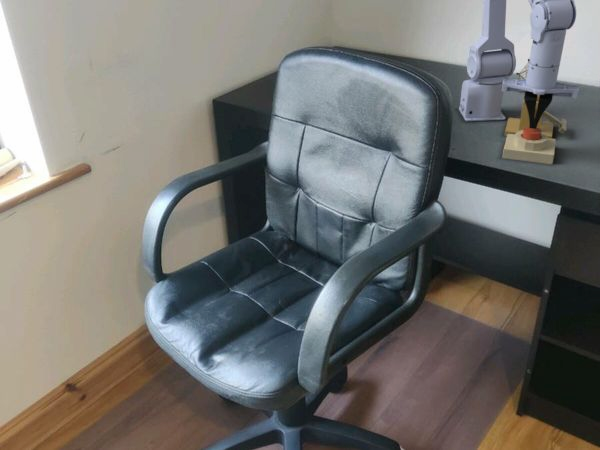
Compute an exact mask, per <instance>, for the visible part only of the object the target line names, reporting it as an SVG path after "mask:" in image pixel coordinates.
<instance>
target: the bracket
mask: <svg viewBox="0 0 600 450" xmlns="http://www.w3.org/2000/svg"><path fill="white" fill-rule="evenodd" d="M539 96H540V95H539V94H538V96H537V100H538V101H537V102H536V107H535V115H536V112H537V107H538V102H539ZM520 112H521V113H520V118H518V117H517V118H515V117H508V119H507V121H506V122H507V123H506V127H505V130H504V135H503V136H505V137H507V134H514V135H515V134H516V133H517V132H519V131H521V130H523V129H524V128H526V127H529V114H528V110H527V106H526V104H525V101H524V100H523V101H522V107H521V111H520ZM534 119H535V117H534ZM542 119H543V116H541V118H540V120H539V122H538V124H537V128H539V129H541V131H542V133H545V134H546V135H547V136H548V138H549V139H553V132H554V125H555V124H554V123H552V122H551V121H544V120H542Z"/></svg>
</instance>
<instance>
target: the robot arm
mask: <svg viewBox="0 0 600 450" xmlns="http://www.w3.org/2000/svg"><path fill="white" fill-rule="evenodd" d="M528 3H529V5H530V8H531V12H530V15H529V19H530V21H529V23H530V28H531V30H530V39H531V40H532V42H531V44H532V45H531V48H530V54H529V59H530V60H529V66H528V72H527V78H526V79H524V80H520V79H509V77H511V76H512V75H513V74H514V72H515V70H516V67H517V58H516V54H515V44H514V43H513V42H512V41H511V40H509V39H508V38H507V37H506V18H507V17H506V16H507V0H482V18H481V21H482V22H481V37H480V38H479V39H477V40H476V41H475V42H473V44H471V45H470V47H469V50H468V57H467V60H466V72H467V75H468V76H469V78H470V79H466V80H463V82H462V83H461V84H462V85H461V90H460V102H459V107H458V111H459V112H460V114H461V115H462V117H463V119H464V121H465V122H486V121H487V122H488V121H505V120H506V119H507V117H506V116H505V115H504V114H503V112H502V105H503V99H504V98H503V97H504V93H507V92H515V93H524V97H523V101H525V104H526V106H527V110H528V114H529V128H533V129H536V128H537V124H538V122H539V120H540V118H541V116H542V114H543V113H544V111H547V108H548V107H549V106H550V105H551V103H552V101H553V96H558V97H568V98H569V97H570V98H571V99H576V100H577V99H578V97H579V95H580V85H573V84H569V83H563V82H558V76H559V71H560V66H561V60H562V56H563V50H564V44H565V40H566V35H567V31H568V30H570V29H571V28H573V26H574V24H575V22H576V20H577V19H576V18H577V6H576V3H575V0H528ZM538 95H540V96H539V102H538V107H537V112H536V115H535V107H536V102H537V96H538ZM534 117H535V119H534ZM542 117H543V116H542Z"/></svg>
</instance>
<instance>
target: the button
mask: <svg viewBox="0 0 600 450" xmlns="http://www.w3.org/2000/svg"><path fill="white" fill-rule="evenodd" d="M541 132H542V131H541V129H539V128H536V129H533V128H529V127H526V128H524V129H523V135H522V138H524V139H526V140H532V141H535V140H540V137H541Z"/></svg>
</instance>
